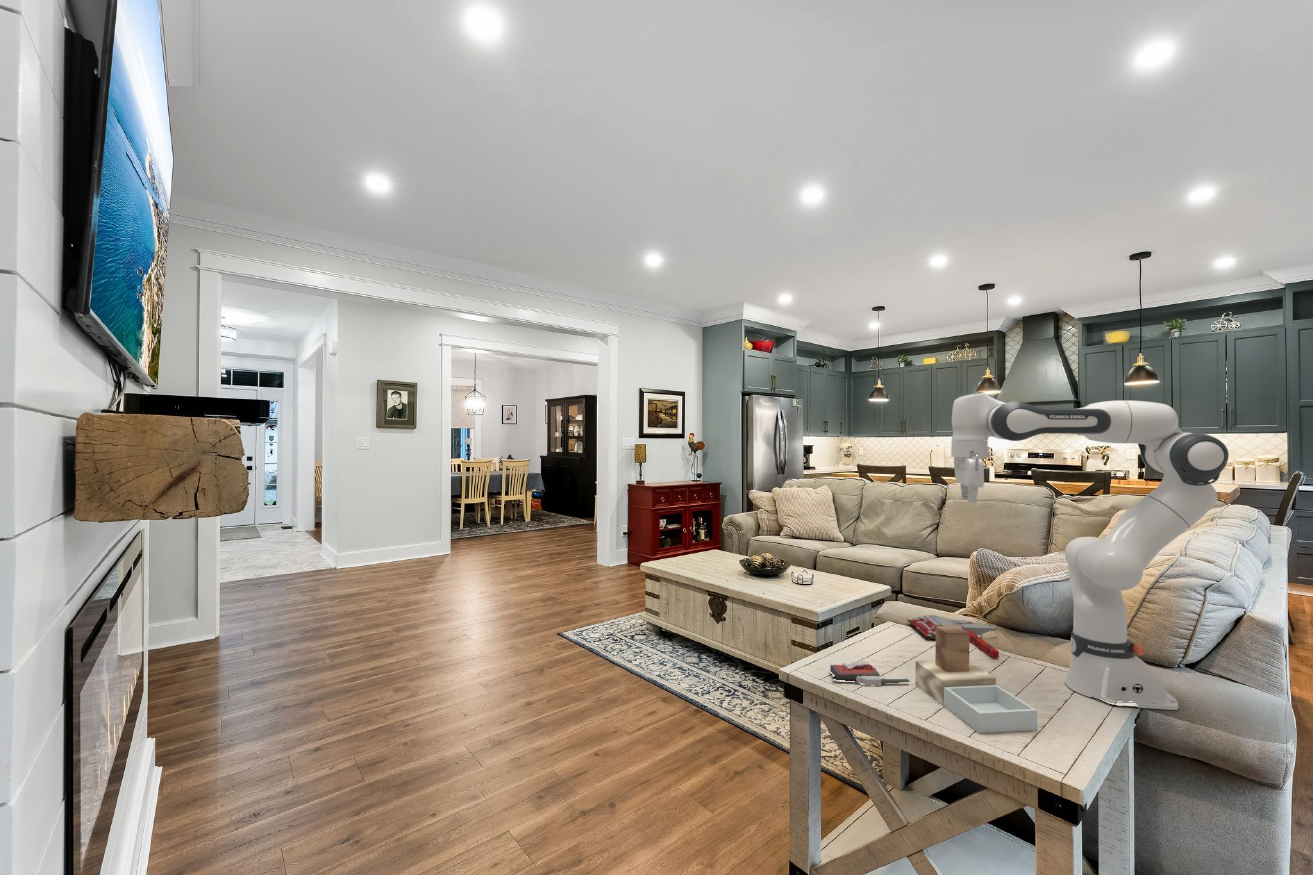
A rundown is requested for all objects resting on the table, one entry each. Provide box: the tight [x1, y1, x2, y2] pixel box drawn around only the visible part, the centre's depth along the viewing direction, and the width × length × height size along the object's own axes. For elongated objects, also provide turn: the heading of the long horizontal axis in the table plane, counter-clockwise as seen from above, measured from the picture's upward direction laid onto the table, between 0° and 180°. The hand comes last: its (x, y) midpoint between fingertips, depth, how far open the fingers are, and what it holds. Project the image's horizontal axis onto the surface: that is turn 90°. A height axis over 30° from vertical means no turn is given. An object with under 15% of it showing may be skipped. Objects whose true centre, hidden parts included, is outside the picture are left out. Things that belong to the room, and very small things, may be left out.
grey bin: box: [943, 684, 1038, 734], centre depth 134 cm, size 13×14×4 cm
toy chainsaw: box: [829, 661, 911, 687], centre depth 155 cm, size 9×4×20 cm
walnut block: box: [934, 626, 971, 672], centre depth 148 cm, size 5×6×10 cm
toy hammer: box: [906, 614, 1000, 659], centre depth 184 cm, size 24×4×30 cm
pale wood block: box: [914, 660, 997, 706], centre depth 147 cm, size 12×14×6 cm
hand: (968, 501), depth 158 cm, fingers open, 8 cm apart
